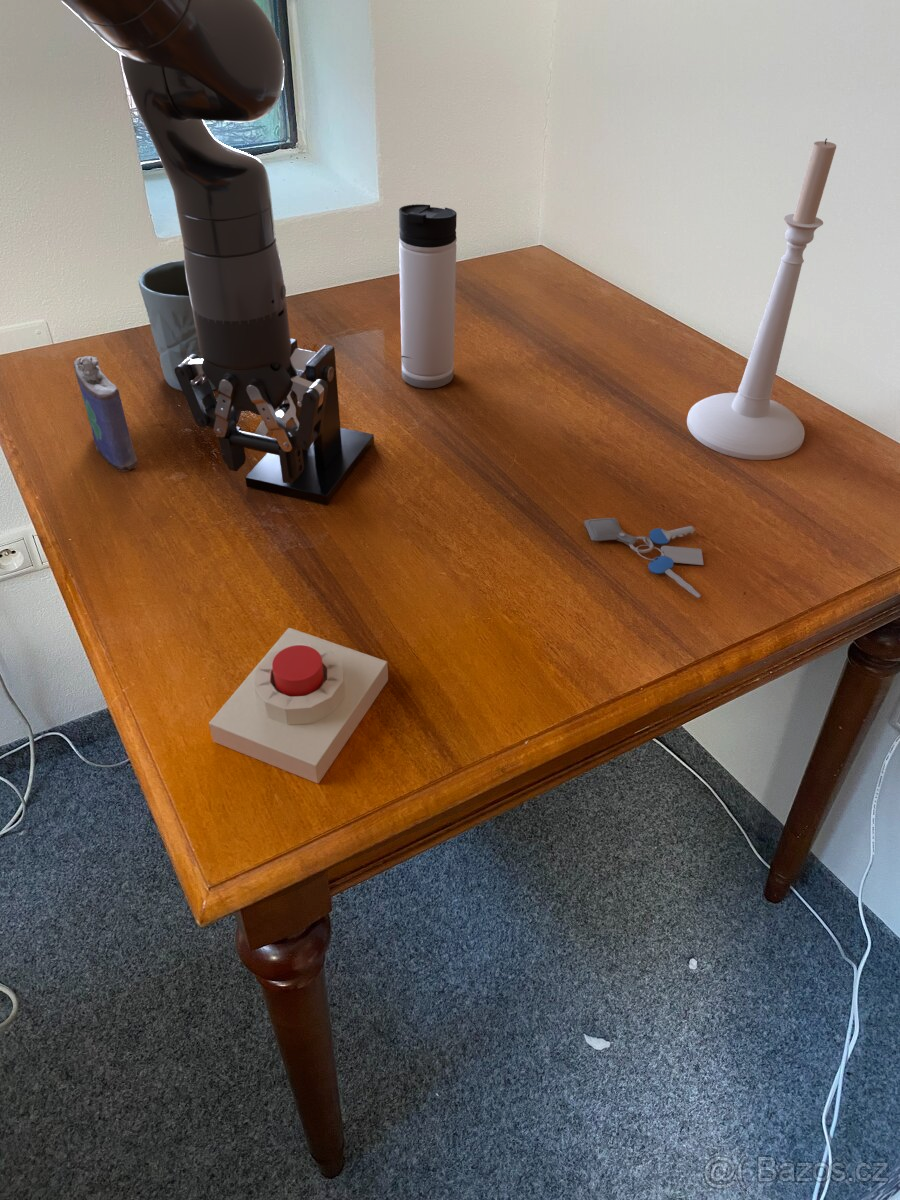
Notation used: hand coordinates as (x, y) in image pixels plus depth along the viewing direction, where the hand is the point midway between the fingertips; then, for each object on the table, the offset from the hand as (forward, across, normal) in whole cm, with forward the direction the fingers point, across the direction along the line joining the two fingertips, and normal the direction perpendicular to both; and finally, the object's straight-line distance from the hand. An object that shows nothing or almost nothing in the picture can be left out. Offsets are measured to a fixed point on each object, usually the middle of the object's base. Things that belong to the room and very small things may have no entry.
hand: (264, 472), depth 82 cm
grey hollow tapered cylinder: (+5, -21, +22) cm, 31 cm away
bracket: (+5, 0, +9) cm, 11 cm away
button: (+2, +14, -21) cm, 25 cm away
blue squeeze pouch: (+5, -21, +4) cm, 22 cm away
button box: (+5, +14, -21) cm, 26 cm away
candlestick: (+5, +42, +33) cm, 54 cm away
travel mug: (+5, +5, +31) cm, 32 cm away
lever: (-4, 0, +5) cm, 6 cm away
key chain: (+5, +36, +8) cm, 38 cm away
